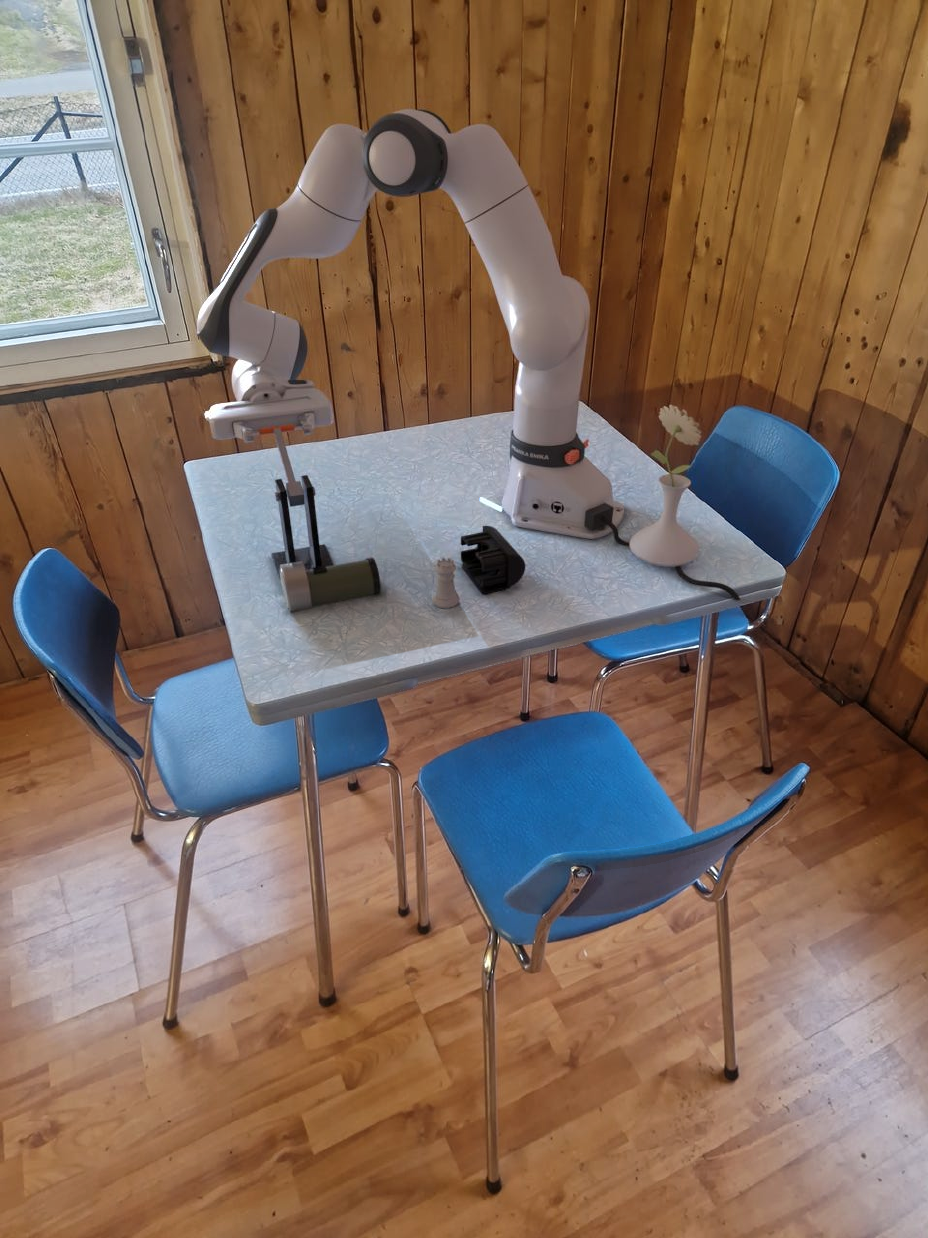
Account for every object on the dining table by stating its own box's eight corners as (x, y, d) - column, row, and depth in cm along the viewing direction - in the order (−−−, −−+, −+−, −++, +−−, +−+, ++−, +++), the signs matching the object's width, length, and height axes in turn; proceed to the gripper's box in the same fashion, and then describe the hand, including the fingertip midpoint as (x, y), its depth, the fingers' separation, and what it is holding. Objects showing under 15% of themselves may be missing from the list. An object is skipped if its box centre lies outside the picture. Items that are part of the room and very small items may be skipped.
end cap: (524, 587, 131) (526, 551, 128) (483, 597, 129) (484, 560, 125) (498, 557, 139) (500, 521, 135) (459, 565, 137) (459, 529, 133)
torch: (291, 621, 124) (285, 580, 120) (282, 596, 129) (276, 556, 125) (382, 603, 128) (380, 563, 124) (370, 579, 133) (368, 540, 129)
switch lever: (259, 435, 134) (258, 424, 132) (293, 430, 136) (293, 419, 134) (279, 508, 127) (278, 498, 125) (315, 502, 128) (315, 492, 126)
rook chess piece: (430, 599, 129) (429, 554, 124) (459, 597, 129) (459, 553, 125) (431, 615, 125) (430, 570, 121) (461, 614, 126) (461, 569, 121)
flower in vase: (710, 567, 137) (739, 423, 122) (647, 578, 134) (670, 431, 119) (672, 530, 147) (695, 392, 132) (612, 539, 144) (630, 399, 130)
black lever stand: (271, 559, 138) (258, 472, 129) (325, 550, 141) (315, 464, 132) (283, 594, 130) (269, 503, 121) (339, 583, 132) (330, 494, 123)
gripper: (200, 393, 139) (208, 423, 128) (321, 378, 144) (338, 406, 134) (206, 428, 142) (215, 461, 132) (324, 413, 148) (342, 443, 137)
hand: (278, 433), depth 133 cm, fingers open, 8 cm apart
